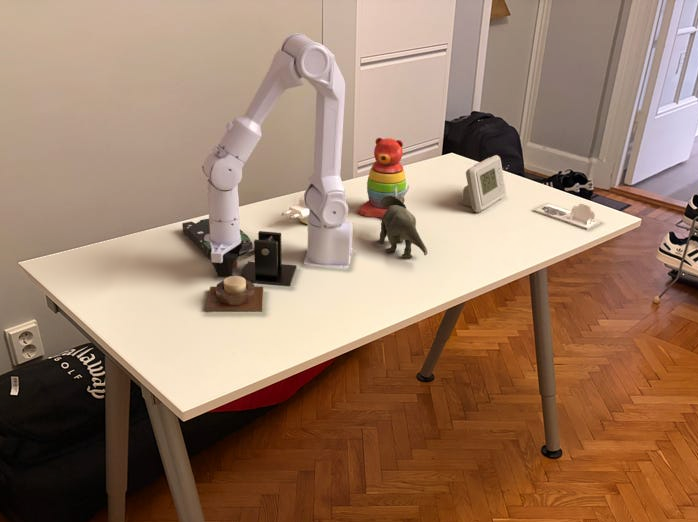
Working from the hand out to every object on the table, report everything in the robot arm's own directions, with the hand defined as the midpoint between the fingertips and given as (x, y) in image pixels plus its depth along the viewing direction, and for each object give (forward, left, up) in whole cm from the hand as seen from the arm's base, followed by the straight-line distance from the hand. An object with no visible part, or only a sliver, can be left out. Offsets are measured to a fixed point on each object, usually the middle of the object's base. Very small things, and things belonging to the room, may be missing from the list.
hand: (227, 279), depth 145 cm
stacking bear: (-29, -39, +1) cm, 49 cm away
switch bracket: (-8, 0, +1) cm, 8 cm away
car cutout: (-75, -46, +1) cm, 88 cm away
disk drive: (+6, -14, +1) cm, 15 cm away
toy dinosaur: (-33, -18, +1) cm, 38 cm away
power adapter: (-11, -28, +1) cm, 30 cm away
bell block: (-4, +11, +1) cm, 12 cm away
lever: (-5, 0, +5) cm, 7 cm away
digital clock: (-55, -50, +1) cm, 74 cm away
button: (-4, +11, +4) cm, 13 cm away
